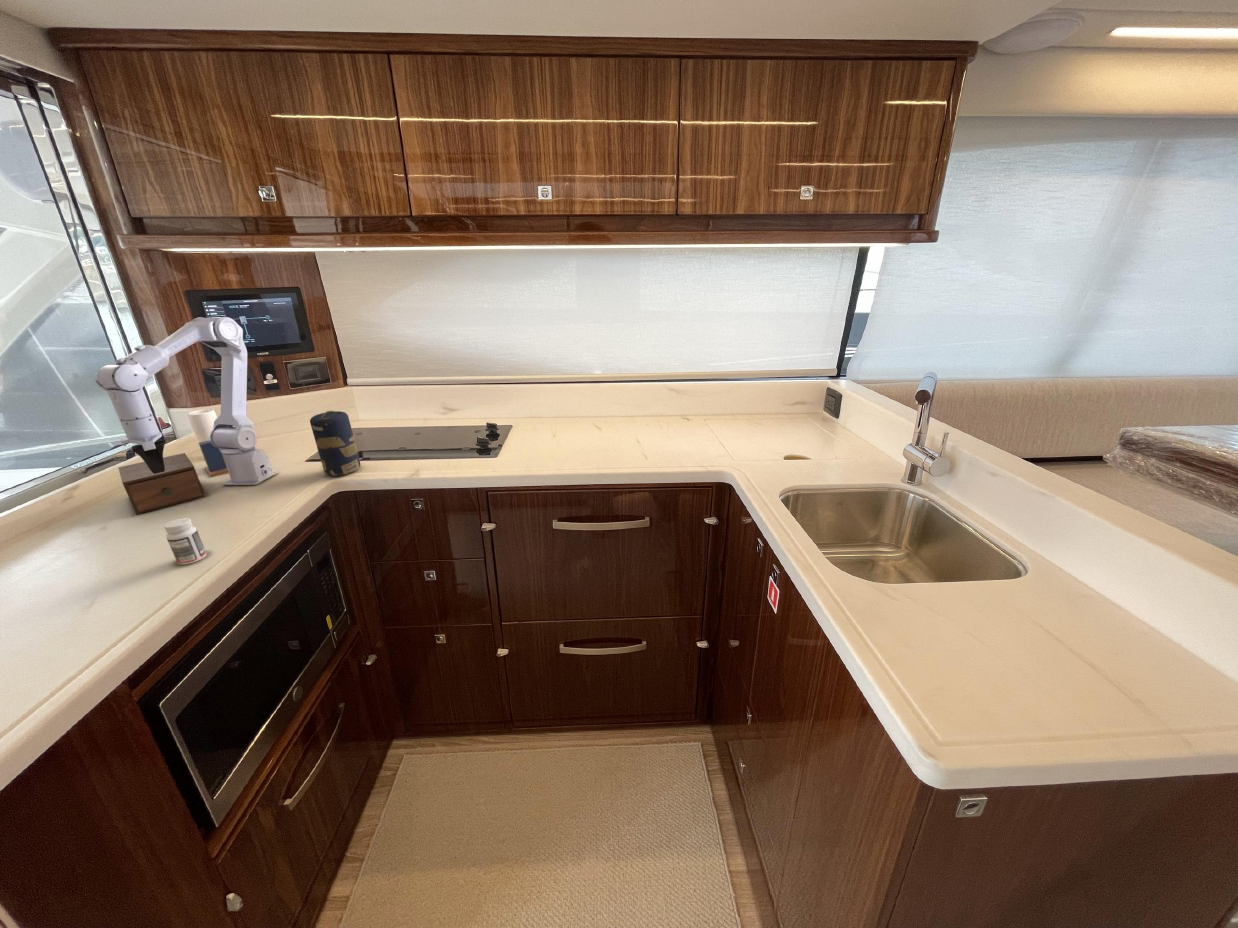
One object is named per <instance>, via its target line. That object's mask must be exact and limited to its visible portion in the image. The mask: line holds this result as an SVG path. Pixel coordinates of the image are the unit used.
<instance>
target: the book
mask: <svg viewBox="0 0 1238 928" xmlns="http://www.w3.org/2000/svg"><path fill="white" fill-rule="evenodd" d="M198 445H199V448H200V451H201V454H202V456H203V459H204V462H205V464H206V467H208V470H209V471H210V472H213V471H217V470H221V469H225V468H227V467H226V464H225V461H224V458H223V455H222V453H221V452H220V450H219V448H217V447H215V446H213V445H212V443H211V441H210V440H209V441H205V442H198Z"/></svg>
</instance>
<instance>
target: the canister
mask: <svg viewBox="0 0 1238 928" xmlns="http://www.w3.org/2000/svg"><path fill="white" fill-rule="evenodd" d="M309 423H310V428H311V431H312V434H313V437H314V442H315V445H316V449H317V453H318V456H319V459H320V462H321V466H322V470H323V472H324V474H326V475H328V476H333V477H334V476H336V477H337V476H342V475H347V474H352V473H353V472H357V470H359V469H360V468H361V460H360V457H359V453H358V448H357V444H356V441H355V440H356V438H355V435H354V433H353V429H352V425H351V421H350V418H349V415H348V414H347V413H346V412H345V411H339V410H337V411H336V410H326V411H325V412H321V413H318V414H315V415H313V416H311V418H310V419H309Z"/></svg>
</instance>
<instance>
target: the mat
mask: <svg viewBox="0 0 1238 928" xmlns="http://www.w3.org/2000/svg"><path fill="white" fill-rule="evenodd" d="M204 469H205V471H206V472H207V473H208V474H209V476H210V477H216V476H221V475H225V474H227V473H228V474H229V472H228V470H227V468H225V469H221V470H217V471H213V472H210V471H209V470H208V467H207V466H204Z"/></svg>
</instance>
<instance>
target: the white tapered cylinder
mask: <svg viewBox="0 0 1238 928" xmlns="http://www.w3.org/2000/svg"><path fill="white" fill-rule="evenodd" d="M187 417H188V420H189V423H190V425H191V428H192V430H193V432H194V434H195V436H196V438H197V440H198V443H200V442H205V441H209V440H210V433H211V431H212V429H213V426H214V421H215V420H216V419H217V418H218V415H217V413H216V411H215V409H214V408H204V409H197V410H192V411H190V412H188V413H187Z"/></svg>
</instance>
